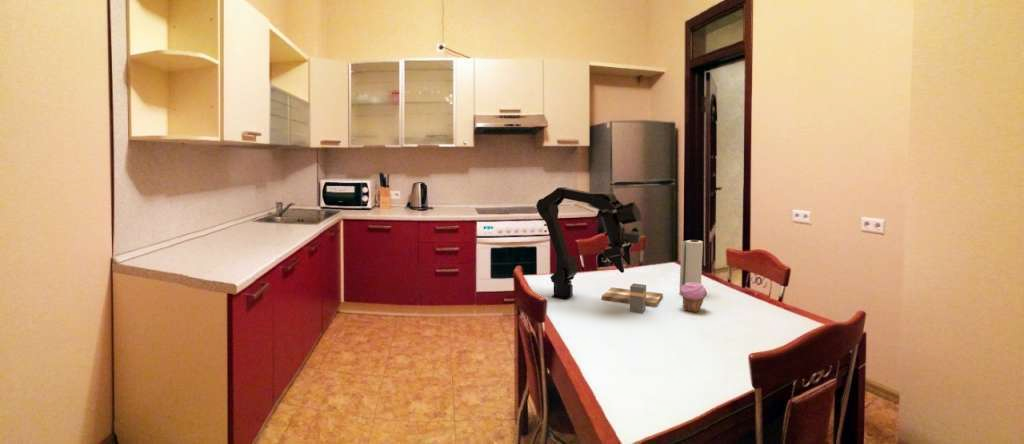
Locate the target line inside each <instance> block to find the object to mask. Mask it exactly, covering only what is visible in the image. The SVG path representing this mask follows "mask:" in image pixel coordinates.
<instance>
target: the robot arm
mask: <svg viewBox="0 0 1024 444" xmlns="http://www.w3.org/2000/svg"><path fill="white" fill-rule="evenodd" d="M564 200H570V201H574V202H575V201H576V202H580V203H586V204H589V205H590V206H592V207H593V208H596V209H598V212H597V214H596V216H595V220H596V219H600V218H601V221H602V224H603V226H604V231H605V232H604V236H606V237H607V239H608V242H609V243H608V244H607V247H606V248H605V249H604V250H603V252H602V253H603V257H604V259H605V258H606V260H608V261H609V262H611V263H612V265H614V267H615V268H616V269H617V270H618V271H619V272H620V273H621V274H622V273H623V274H624V273H625V269H624V268H625V267H624V262H625V264H627V266H630V265H632V262H631V261H632V260H631V259H632V258H631V248H632V247H633V246H634V245H635V244H636V245H637V244H639V243H640V242H641V240H642V235H643V234H642V231H640V229H639V227H635V226H634V227H632V229H631V230H626V229H625V227H624V226H622V225H628V224H629V225H630V224H632V223H638V222H640V221H641V220H642V219H641V218H642V213H641V210H640V209H639V207H638V206H637V205H636V202H629V203H627V204H623V203H622V202H621V201H620V200H618V199H617V197H616V195H615V194H614V193H613V192H609V191H608V192H607V191H605V192H590V191H585V190H580V189H579V190H578V189H574V188H568V187H565V186H561V187H557V188H556V189H554V191H552V192H551V193H549V194H547V195H546V196H544V197H542V198H539V200H538V201H537V203H536V204H535V205H536V207H535V208H536V210H537V212H538V214H539V216H540V217H541V218H542V220H543V221H544V222H545V223H546V228H547V232H548V233H549V234H548V235H549V238H550V242H551V244H552V247H553V251H554V254H555V265H554V266H555V272H554V273H553V274H552V275H551V276H550V281H551V283H553V294H552V295H551V297H552V298H555V299H556V298H558V299H564V300H568V299H570V298H571V297H572V296H573V295H574V294H573V290H574V289H573V287H574V285H573V284H572V280H574V278H575V276H576V275H577V272H578V271H579V270H578V269H579V265H578V263H577V259H576V256H571V254H569V251H568V247H567V245H566V242H565V239H564V234H563V232H562V231H563V230H562V229H561V225H560V221H559V218H558V217H559V213H560V211H559V210H560V209H559V206H560V204H562V203H563V201H564ZM623 261H624V262H623Z"/></svg>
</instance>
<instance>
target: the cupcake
mask: <svg viewBox="0 0 1024 444" xmlns="http://www.w3.org/2000/svg"><path fill="white" fill-rule="evenodd" d="M679 291H680V296H681V297H682V307H683V309H684V310H685V311H689V312H693V313H698V312H699V310H700V309H701V307H702V305H703V302H704V299H705V298H706V297H708V291H707V289H706V287H705V286H704V285H703V284H702V283H701V284H700V283H696V282H689V283H685V284H684V285H683V286H681V288H680V287H679Z"/></svg>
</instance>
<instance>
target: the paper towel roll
mask: <svg viewBox="0 0 1024 444" xmlns="http://www.w3.org/2000/svg"><path fill="white" fill-rule="evenodd" d="M680 243H681V244H680V246H681V247H680V266H679V267H680V269H679V270H680V272H679V289H680V288H681V286H683V285H684V284H685V283H689V282H696V283H700V284H702V273H703V267H702V266H703V249H704V248H703V247H704V241H702V240H698V239H689V240H683V241H681V242H680ZM678 295H680V290H679V293H678ZM680 296H681V295H680Z"/></svg>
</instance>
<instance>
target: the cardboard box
mask: <svg viewBox="0 0 1024 444" xmlns="http://www.w3.org/2000/svg"><path fill="white" fill-rule="evenodd" d="M662 299H664V294H663V293H661V292H653V291H646V307H653V308H657V306H658V305H659V304H660V302H661V301H662ZM601 300H602V301H609V302H616V303H624V304H629V305H630V288H629V289H628V288H619V287H612V286H611V287H610V288H609V289H608V290H607V291H606V292H605V293H603V294H602V295H601Z"/></svg>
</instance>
